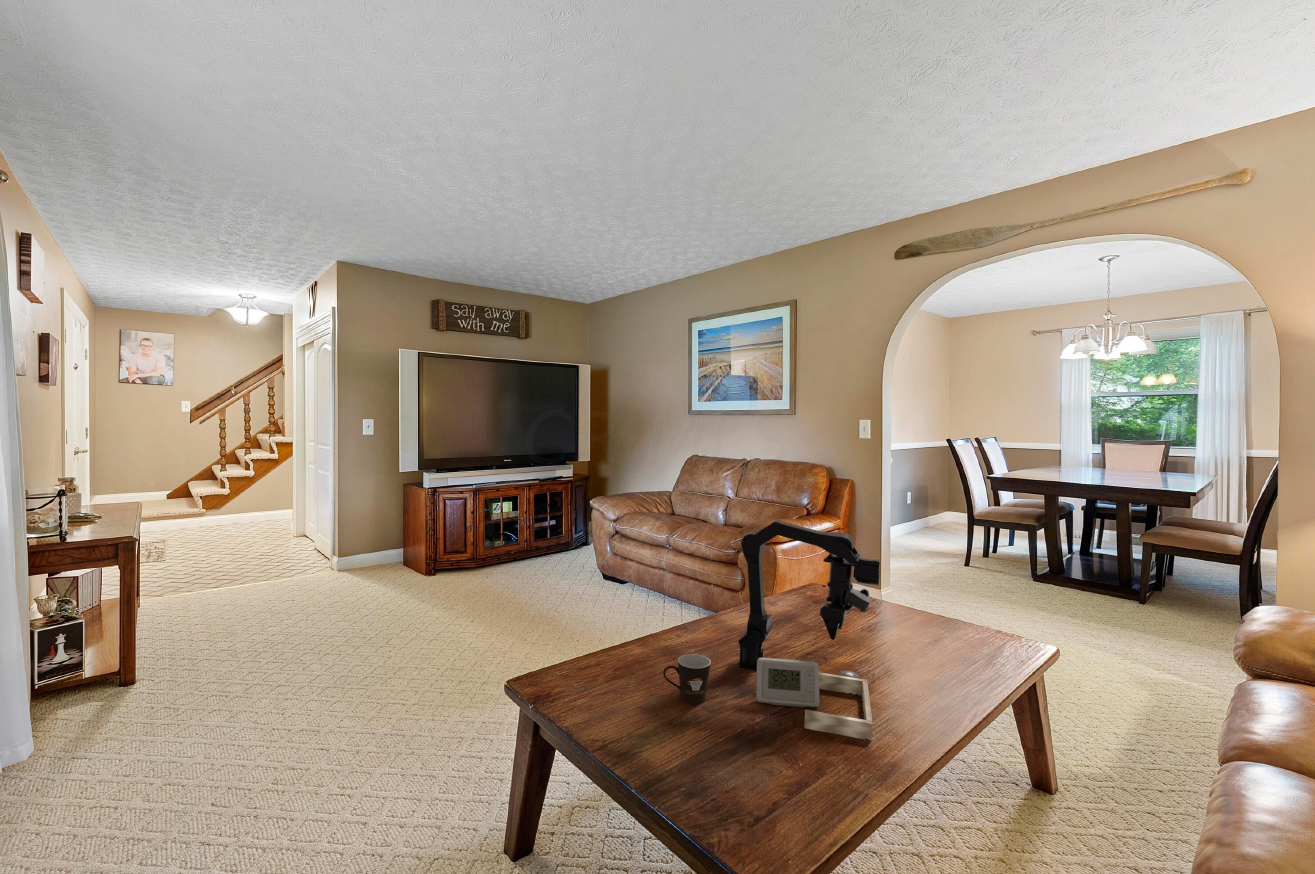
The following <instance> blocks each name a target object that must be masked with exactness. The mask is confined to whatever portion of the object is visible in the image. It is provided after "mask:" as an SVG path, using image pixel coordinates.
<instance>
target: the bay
mask: <svg viewBox="0 0 1315 874" xmlns="http://www.w3.org/2000/svg"><path fill="white" fill-rule="evenodd" d="M819 690H824V691H831V692H837V693H843V692H844V693H843V694H849V693H853V694H852V695H855V694H858V695H857V696H861V695H862V696H861V702H862V701H863V703H862V710H863V711H862V712H864V713H863V719H861V718H856V717H852V716H844V715H838V714H832V713H827V712H821V711H817V710H810V709H805V710H804V726H803V727H804V729H807V730H811V731H816V732H817V731H818V732H824V733H827V734H835V735H841V736H845V737H850V738H856V739H860V740H866V739H868V740H867V741H871V740H873V739H872V738H873V726H874V725H873V724H874V723H873V715H872V710H871V709H872V708H871V700H870V693H869V686H868V680H867V679H865V678H859V679H858V678H852V677H845V676H840V674H839V675H838V674H833V673H832V674H831V673H825V672H820V671H819Z"/></svg>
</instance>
